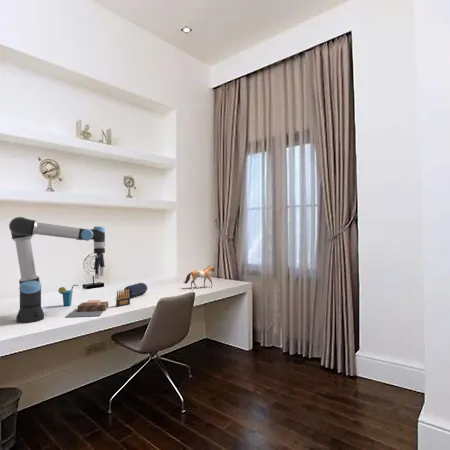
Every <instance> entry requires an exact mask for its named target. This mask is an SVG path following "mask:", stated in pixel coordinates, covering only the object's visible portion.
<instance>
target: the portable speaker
mask: <svg viewBox="0 0 450 450" xmlns="http://www.w3.org/2000/svg"><path fill="white" fill-rule="evenodd" d="M124 289H125V291H126V289H127V291H128V289H129V298H130V299H132V297H133V298H135V297H138V296H141V295H143V294H145V293H146V292H147V291H148V286H147V284H146V283H143V282H138V283H134V284H131V285H127V286H125V287H124Z"/></svg>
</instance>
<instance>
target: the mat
mask: <svg viewBox="0 0 450 450" xmlns="http://www.w3.org/2000/svg"><path fill="white" fill-rule="evenodd" d="M103 312H104V311H93V312H78V311H77V312H76V311H75V312H74V311H73V312H69V313H68V314H67V315H66V316H64V318H65V319H66V318H67V319H68V318H71V319H72V318H85V317H86V318H87V317H88V318H89V317H92V318H93V317H101V316H102V314H103Z"/></svg>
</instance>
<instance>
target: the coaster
mask: <svg viewBox="0 0 450 450" xmlns="http://www.w3.org/2000/svg"><path fill="white" fill-rule="evenodd" d="M100 302H101V299H94V300H93V299H91V300H89V299H88V300H87V301H86V306H89V305H98V304H99V303H100Z"/></svg>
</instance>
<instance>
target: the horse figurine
mask: <svg viewBox="0 0 450 450" xmlns="http://www.w3.org/2000/svg"><path fill="white" fill-rule="evenodd" d="M211 272H212V274H214V273H215V265H209V266H207V267H206V268H204V269H203V270H201V269H200V270H199V269H195V270H193V271H191V272H189V273H187V275H186V276H185V277H186V278H185V280H184V282H183V283H184V284H186V285H187V284H188V283H189V281H190V279H191V278H192V280H191V281H190V282H191V283H190V289H191V288H193V287H194V288H195V287H196V288H197V284H196V283H195V281H196V280H197V278H201V279H202V278H203V287H204V288H205V286H206V279H207V280H209V283H210V284H211V285H210V287H211V288H213V281H212V279H211ZM193 285H194V286H193Z"/></svg>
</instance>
